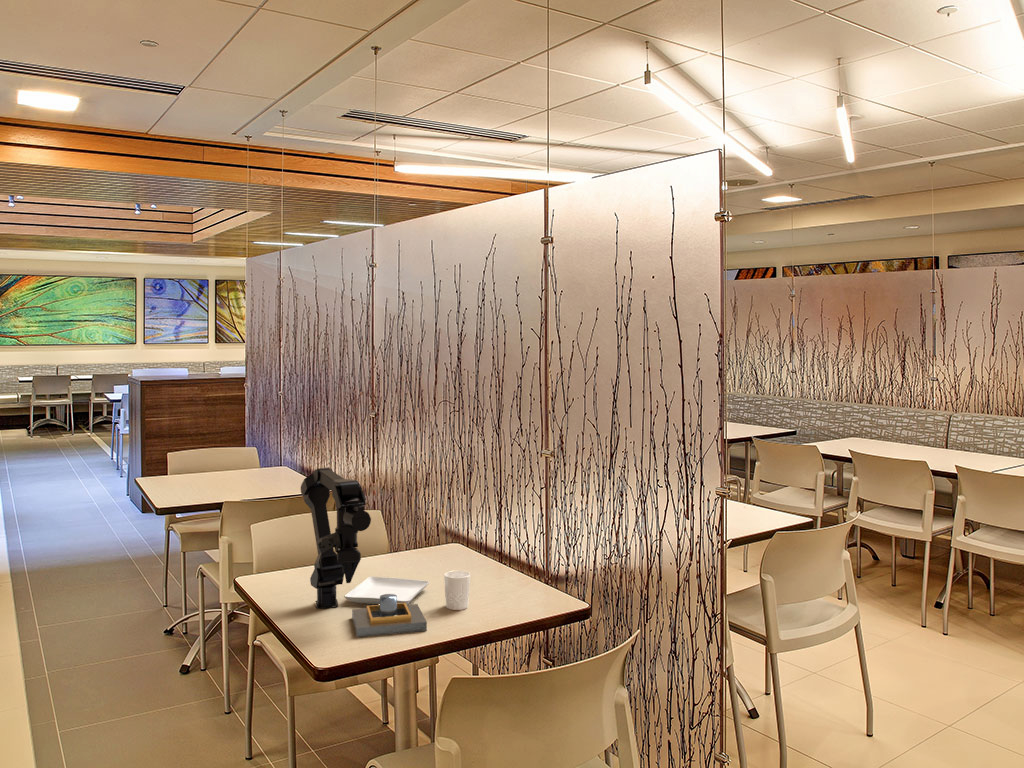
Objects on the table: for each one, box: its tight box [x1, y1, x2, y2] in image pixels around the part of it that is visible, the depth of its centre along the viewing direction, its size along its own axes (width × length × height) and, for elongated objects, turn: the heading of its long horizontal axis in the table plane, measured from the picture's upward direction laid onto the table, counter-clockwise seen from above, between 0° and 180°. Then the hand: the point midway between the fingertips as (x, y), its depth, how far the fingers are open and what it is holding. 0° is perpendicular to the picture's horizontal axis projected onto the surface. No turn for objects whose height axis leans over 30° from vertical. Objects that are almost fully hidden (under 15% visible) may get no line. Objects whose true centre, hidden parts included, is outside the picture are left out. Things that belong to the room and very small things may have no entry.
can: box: [380, 594, 397, 617], centre depth 219 cm, size 5×5×8 cm
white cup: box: [443, 570, 471, 611], centre depth 235 cm, size 8×8×10 cm
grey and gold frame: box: [351, 603, 428, 638], centre depth 219 cm, size 16×19×4 cm
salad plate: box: [343, 576, 430, 605], centre depth 244 cm, size 21×21×3 cm
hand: (347, 578), depth 222 cm, fingers open, 9 cm apart
